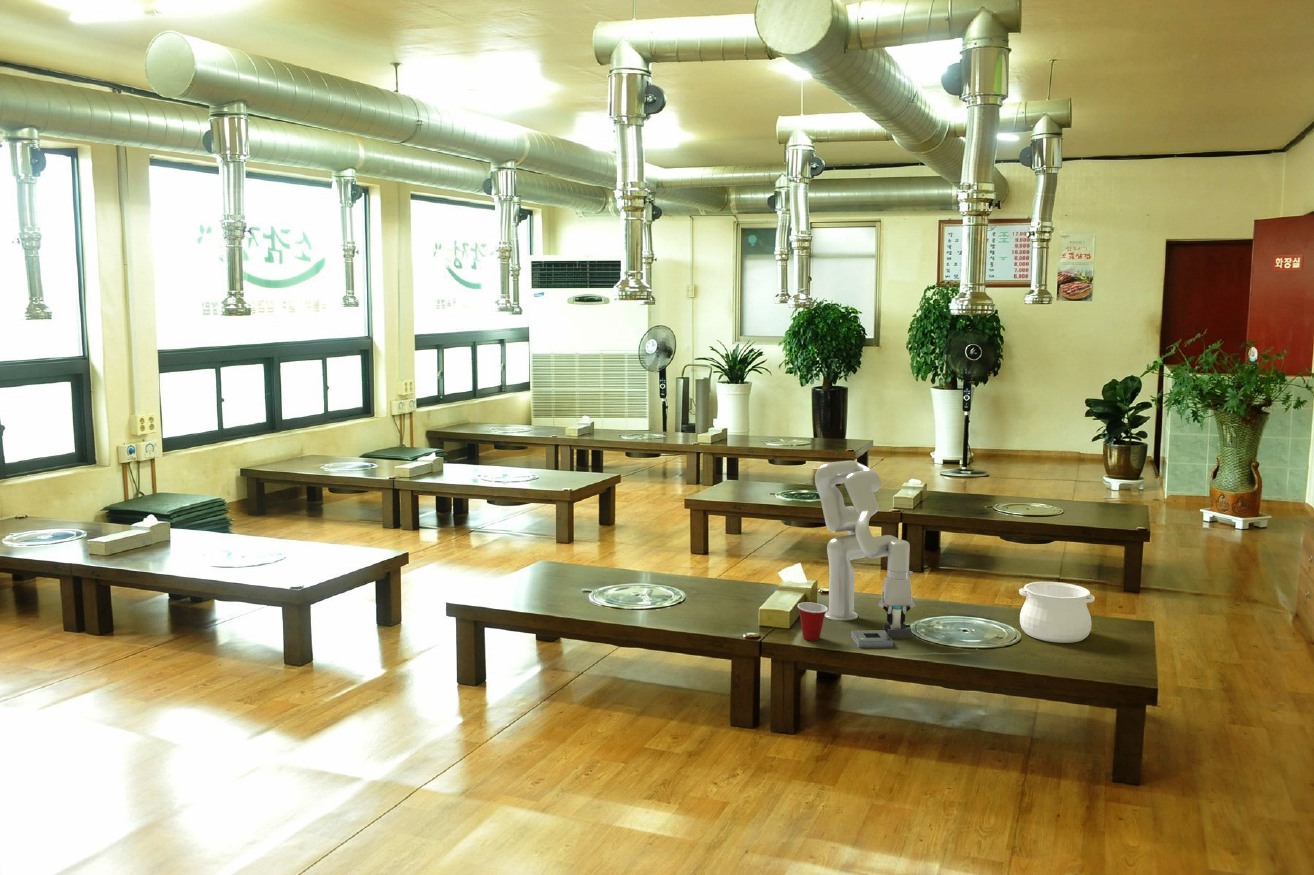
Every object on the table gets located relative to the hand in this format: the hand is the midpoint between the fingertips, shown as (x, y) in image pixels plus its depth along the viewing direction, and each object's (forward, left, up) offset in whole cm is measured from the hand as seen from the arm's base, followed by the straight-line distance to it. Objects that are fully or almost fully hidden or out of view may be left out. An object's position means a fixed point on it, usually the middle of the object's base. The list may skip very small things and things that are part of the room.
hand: (895, 623), depth 379 cm
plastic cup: (+2, -31, -5) cm, 31 cm away
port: (+9, -11, -5) cm, 15 cm away
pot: (+1, +58, -5) cm, 59 cm away
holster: (+1, 0, -5) cm, 5 cm away
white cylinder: (0, 0, -3) cm, 3 cm away
